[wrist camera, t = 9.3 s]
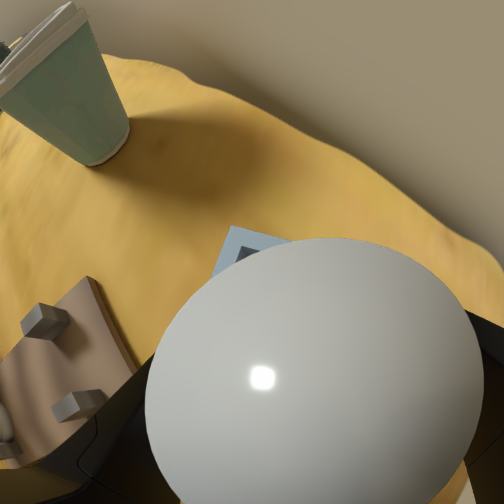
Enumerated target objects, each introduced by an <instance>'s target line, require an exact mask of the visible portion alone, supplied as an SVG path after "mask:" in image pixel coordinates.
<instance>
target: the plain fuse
mask: <svg viewBox="0 0 504 504" xmlns="http://www.w3.org/2000/svg"><path fill="white" fill-rule="evenodd" d="M13 440H14V427H13V423H12V419H11V417H10V414H9V412H8V410H7V408H6V407H5V405H4V404H3V403H2V402H1V401H0V444H1V443H9V442H12V441H13Z"/></svg>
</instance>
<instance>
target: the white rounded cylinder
mask: <svg viewBox="0 0 504 504" xmlns="http://www.w3.org/2000/svg"><path fill="white" fill-rule="evenodd" d="M483 392H484V371H483V364H482V357H481V351H480V347H479V344H478V340H477V337H476V333H475V331H474V329H473V326H472V324H471V322H470V320H469V318H468V315H467V314H466V312H465V310H464V309H463V307H462V306H461V304H460V303H459V301H458V300H457V298H456V297H455V296H454V294H453V293H452V292H451V291H450V290H449V289H448V287H447V286H446V285H445V284H444V283H443V282H442V281H441V280H440V279H439V278H438V277H436V276H435V275H434V274H433V273H432V272H431V271H429V270H428V269H427V268H425V267H424V266H422V265H421V264H419V263H418V262H416V261H414V260H413V259H411V258H410V257H408V256H406V255H403V254H401V253H399V252H397V251H394V250H392V249H390V248H387V247H384V246H380V245H377V244H373V243H370V242H366V241H359V240H353V239H346V238H316V239H307V240H298V241H294V242H289V243H285V244H281V245H277V246H273V247H271V248H268V249H265V250H262V251H260V252H257V253H254V254H252V255H250V256H248V257H246V258H244V259H242V260H240V261H238V262H236V263H234V264H232V265H231V266H229V267H228V268H226V269H225V270H223V271H222V272H220V273H219V274H217V275H216V276H215V277H213V278H212V279H210V280H209V281H208V282H207V283H206V284H205V285H204V286H202V287H201V288H200V289H199V290H198V291H197V292H196V293H195V294H194V295H193V296H192V297H191V298H190V299H189V300H188V301H187V302H186V304H185V305H184V306H183V307H182V308H181V309H180V310H179V312H178V313H177V315H176V316H175V318H174V319H173V321H172V322H171V323H170V325H169V326H168V328H167V329H166V331H165V333H164V335H163V337H162V339H161V341H160V343H159V345H158V347H157V349H156V352H155V355H154V358H153V361H152V364H151V367H150V370H149V376H148V381H147V387H146V396H145V417H146V427H147V433H148V438H149V441H150V445H151V449H152V452H153V455H154V457H155V460H156V462H157V464H158V467H159V469H160V471H161V473H162V474H163V476H164V478H165V479H166V481H167V483H168V484H169V486H170V487H171V489H172V490H173V491H174V492H175V494H176V495H177V496H178V497H179V498H180V500H181V501H182V502H183V503H184V504H428V503H429V502H430V501H431V500H432V499H433V498H434V497H435V496H436V495H437V494H438V493H439V492H440V491H441V489H442V488H443V487H444V486H445V485H446V484H447V482H448V481H449V480H450V478H451V477H452V476H453V474H454V473H455V471H456V470H457V469H458V467H459V465H460V463H461V462H462V460H463V458H464V456H465V455H466V453H467V451H468V449H469V446H470V444H471V442H472V439H473V437H474V434H475V432H476V428H477V425H478V421H479V417H480V413H481V407H482V400H483Z"/></svg>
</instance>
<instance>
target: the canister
mask: <svg viewBox="0 0 504 504" xmlns="http://www.w3.org/2000/svg"><path fill="white" fill-rule="evenodd" d="M10 53H11V51H10V49H9V48H8V46H6V45H5V44H4V42H0V65H1V64H2V63H3V61H4V60H5V59H6V58H7V57H8V56H9V54H10Z"/></svg>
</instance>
